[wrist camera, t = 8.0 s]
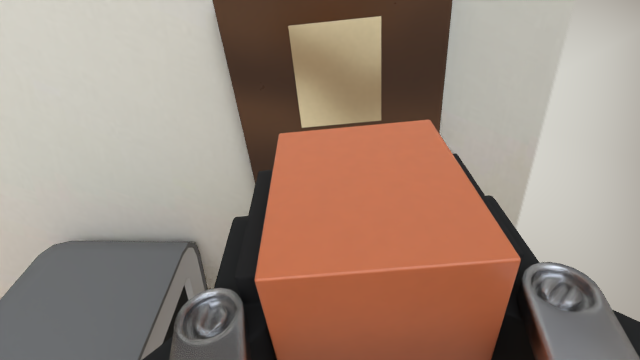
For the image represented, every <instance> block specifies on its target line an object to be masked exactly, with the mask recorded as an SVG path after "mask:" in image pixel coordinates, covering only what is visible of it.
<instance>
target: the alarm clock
mask: <svg viewBox="0 0 640 360" xmlns="http://www.w3.org/2000/svg"><path fill="white" fill-rule="evenodd" d="M206 290H208V289H207V285H206V280H205V275H204V271H203V266H202V262H201V257H200V253H199V250H198V248H197V246H196V243H192V242H113V241H69V242H65V243H60V244H56V245H53V246H51V247H50V248H48V249H47V250H45V251H44V252H43V253H41V254H40V255H38V257H37V258H36V259H35V260H34V261H33V262H32V263H31V265H30V266H29V267H28V268H27V269H26V270H25V272H24V273H23V274H22V275H21V276H20V277H19V279H18V280H17V281H16V282H15V283H14V284H13V286H12V287H11V288H10V289H9V290H8V291H7V292H6V294H5V295H4V296H3V297H2V298H1V299H0V360H142V359H144V358H145V357H146V356H147V355H149V354H150V353H151V352H153V351H154V350H155V349H157V348H158V347H159V346H161V345H162V344H163V343H165V342H166V341H167V340H169V339H170V338H171V337H173V330H174V323H175V320H176V317H177V314H178V312H179V311H180V309H181V308H182V306H183V305H184V304H185V303H186V302H187V301H188V300H190V299H191V298H192V297H194V296H195V295H197V294H199V293H200V292H203V291H206Z"/></svg>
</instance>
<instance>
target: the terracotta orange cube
mask: <svg viewBox="0 0 640 360" xmlns="http://www.w3.org/2000/svg"><path fill="white" fill-rule="evenodd" d="M520 262H521V259H520V257H519V255H518V254H517V252H516V251H515V249H514V247H513V246H512V244H511V243H510V241H509V240H508V238H507V237H506V235H505V234H504V232H503V231H502V229H501V228H500V226H499V225H498V223H497V221H496V220H495V218H494V217H493V215H492V214H491V212H490V211H489V209H488V208H487V206H486V205H485V203H484V202H483V200H482V199H481V197H480V195H479V194H478V192H477V191H476V189H475V188H474V186H473V185H472V183H471V182H470V180H469V179H468V177H467V176H466V174H465V172H464V171H463V169H462V168H461V166H460V165H459V163H458V162H457V160H456V159H455V157H454V156H453V154H452V153H451V151H450V150H449V148H448V146H447V145H446V143H445V142H444V140H443V139H442V137H441V136H440V134H439V133H438V131H437V130H436V128H435V127H434V125H433V124H432V122H431V120H419V121H408V122H397V123H386V124H376V125H365V126H354V127H344V128H333V129H322V130H311V131H301V132H290V133H280V134H279V136H278V142H277V148H276V154H275V160H274V166H273V172H272V178H271V184H270V190H269V196H268V202H267V208H266V214H265V220H264V226H263V232H262V238H261V244H260V250H259V256H258V262H257V268H256V274H255V280H254V281H255V284H256V288H257V291H258V295H259V298H260V302H261V305H262V309H263V312H264V316H265V319H266V323H267V326H268V330H269V333H270V337H271V340H272V344H273V347H274V351H275V354H276V358H277V360H491V358H492V355H493V352H494V348H495V345H496V342H497V338H498V335H499V332H500V328H501V325H502V322H503V318H504V315H505V312H506V308H507V305H508V302H509V298H510V295H511V292H512V288H513V285H514V282H515V278H516V275H517V272H518V268H519V265H520Z"/></svg>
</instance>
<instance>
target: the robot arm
mask: <svg viewBox="0 0 640 360" xmlns="http://www.w3.org/2000/svg"><path fill="white" fill-rule="evenodd" d="M453 156H454V157H455V159H456V160H457V162H458V163H459V165H460V166H461V168H462V169H463V171H464V172H465V174H466V176H467V177H468V179H469V180H470V182H471V183H472V185H473V186H474V188H475V189H476V191H477V192H478V194H479V195H480V197H481V199H482V200H483V202H484V203H485V205H486V206H487V208H488V209H489V211H490V212H491V214H492V215H493V217H494V218H495V220H496V221H497V223H498V225H499V226H500V228H501V229H502V231H503V232H504V234H505V235H506V237H507V238H508V240H509V241H510V243H511V244H512V246H513V247H514V249H515V251H516V252H517V254H518V255H519V257H520V259H521V262H520V265H519V268H518V272H517V275H516V278H515V282H514V285H513V288H512V292H511V295H510V298H509V302H508V305H507V308H506V312H505V315H504V318H503V322H502V325H501V328H500V332H499V335H498V338H497V342H496V345H495V348H494V352H493V355H492V358H491V360H640V322H638V321H636V320H634V319H632V318H630V317H627V316H625V315H623V314H621V313H619V312H616V311H614V310H612V309H611V307H610V305H609V303H608V302H607V300H606V298H605V296H604V294H603V293H602V291H601V290H600V288H599V287H598V286H597V284H596V283H595V282H594V281H593V280H591V279H590V278H589V277H588V276H587V275H585V274H583V273H582V272H580V271H578V270H576V269H574V268H572V267H569V266H566V265H563V264H558V263H552V262H545V263H544V262H543V263H539V261H538V260H537V259H536V257H535V256H534V254H533V253H532V252H531V250H530V249H529V247H528V246H527V245H526V243H525V242H524V240H523V239H522V237H521V236H520V234H519V233H518V231H517V230H516V229H515V227H514V226H513V224H512V223H511V222H510V220H509V219H508V217H507V216H506V214H505V213H504V212H503V210H502V209H501V207H500V206H499V204H498V203H497V202H496V200H495V199H494V198H493V197H492V196H485V195H484V193H483V192H482V191H481V189H480V188H479V186H478V185H477V183H476V182H475V180H474V179H473V177H472V176H471V174H470V173H469V171H468V170H467V168H466V167H465V165H464V164H463V162H462V161H461V159H460V158H459V156H458V155H457V154H455V153H454V154H453ZM272 172H273V170H265V171H259V172H258V176H257V180H256V185H255V189H254V194H253V198H252V202H251V207H250V211H249V216H243V217H235V218H234V220H233V222H232V226H231V229H230V233H229V236H228V240H227V243H226V247H225V251H224V254H223V258H222V261H221V265H220V269H219V272H218V276H217V279H216V283H215V287H214V288H213V289H209V290H206V291H203V292H200V293H199V294H197V295H195V296H194V297H192V298H191V299H190V300H188V301H187V302H186V303H185V304H184V305H183V306H182V308H181V309H180V311H179V312H178V314H177V317H176V320H175V323H174V330H173V337H171V338H170V339H169V340H167V341H166V342H165V343H163V344H162V345H161V346H159V347H158V348H157V349H155V350H154V351H153V352H151V353H150V354H149V355H147V356H146V357H145V358H144V359H142V360H277V358H276V354H275V351H274V347H273V344H272V340H271V337H270V333H269V330H268V326H267V323H266V319H265V316H264V312H263V309H262V305H261V302H260V298H259V295H258V291H257V288H256V284H255V281H254V280H255V274H256V268H257V262H258V256H259V250H260V244H261V238H262V232H263V226H264V220H265V214H266V208H267V202H268V196H269V190H270V184H271V178H272Z"/></svg>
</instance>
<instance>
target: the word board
mask: <svg viewBox="0 0 640 360" xmlns="http://www.w3.org/2000/svg"><path fill="white" fill-rule="evenodd" d="M213 5H214V9H215V13H216V17H217V22H218V26H219V30H220V34H221V39H222V43H223V47H224V51H225V56H226V60H227V64H228V69H229V73H230V77H231V81H232V86H233V90H234V94H235V98H236V103H237V107H238V111H239V116H240V120H241V124H242V128H243V133H244V137H245V141H246V145H247V150H248V154H249V158H250V163H251V167H252V171H253V175H254V180H255V184H256V180H257V176H258V172H259V171H265V170H273V166H274V160H275V154H276V148H277V142H278V136H279V134H280V133H290V132H301V131H311V130H322V129H333V128H344V127H354V126H365V125H376V124H386V123H397V122H408V121H419V120H431V122H432V124H433V125H434V127H435V128H436V130H437V131H438V133H439V130H440V120H441V110H442V100H443V90H444V79H445V69H446V59H447V49H448V39H449V29H450V19H451V9H452V0H213Z"/></svg>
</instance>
